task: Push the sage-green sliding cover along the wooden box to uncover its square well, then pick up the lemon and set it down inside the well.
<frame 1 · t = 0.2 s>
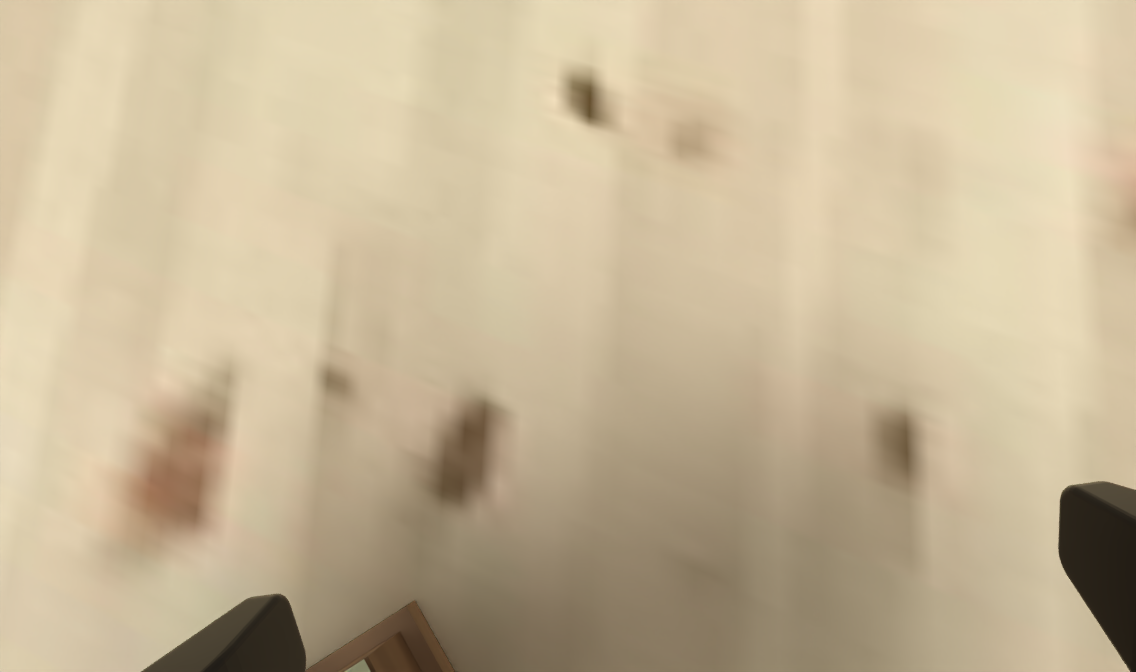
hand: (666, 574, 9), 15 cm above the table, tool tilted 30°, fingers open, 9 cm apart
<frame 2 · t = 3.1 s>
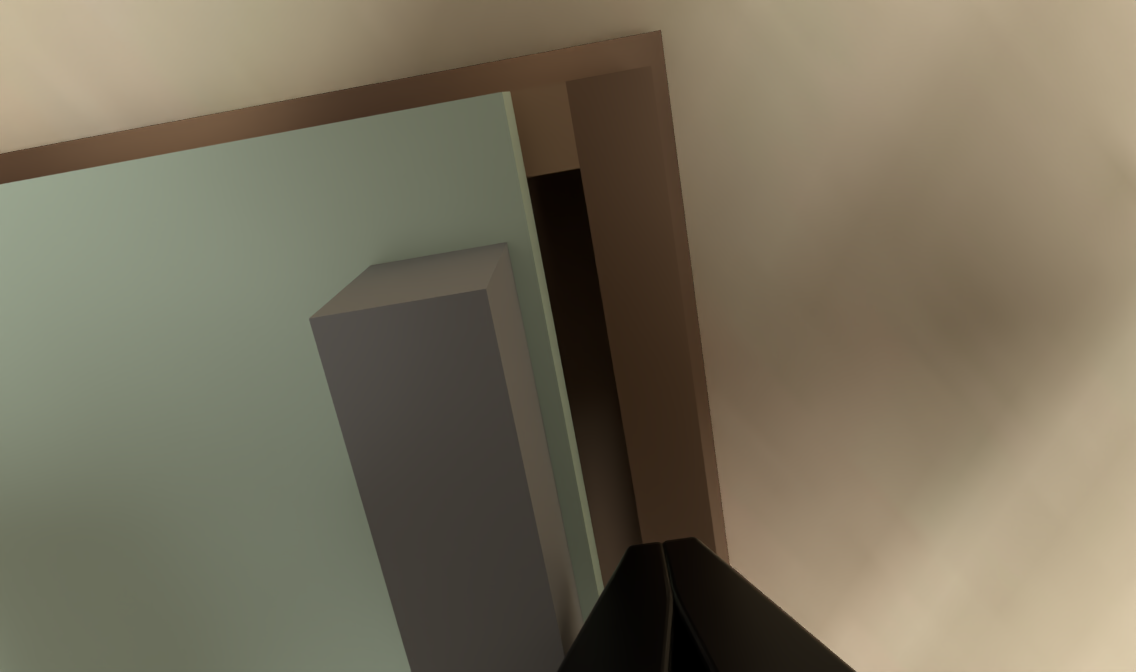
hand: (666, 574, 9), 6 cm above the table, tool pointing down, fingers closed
slide cover: (140, 648, 9), point 6 cm above the table, slide at 1.6 cm, touching gripper
wooden box: (111, 469, 15), on the table
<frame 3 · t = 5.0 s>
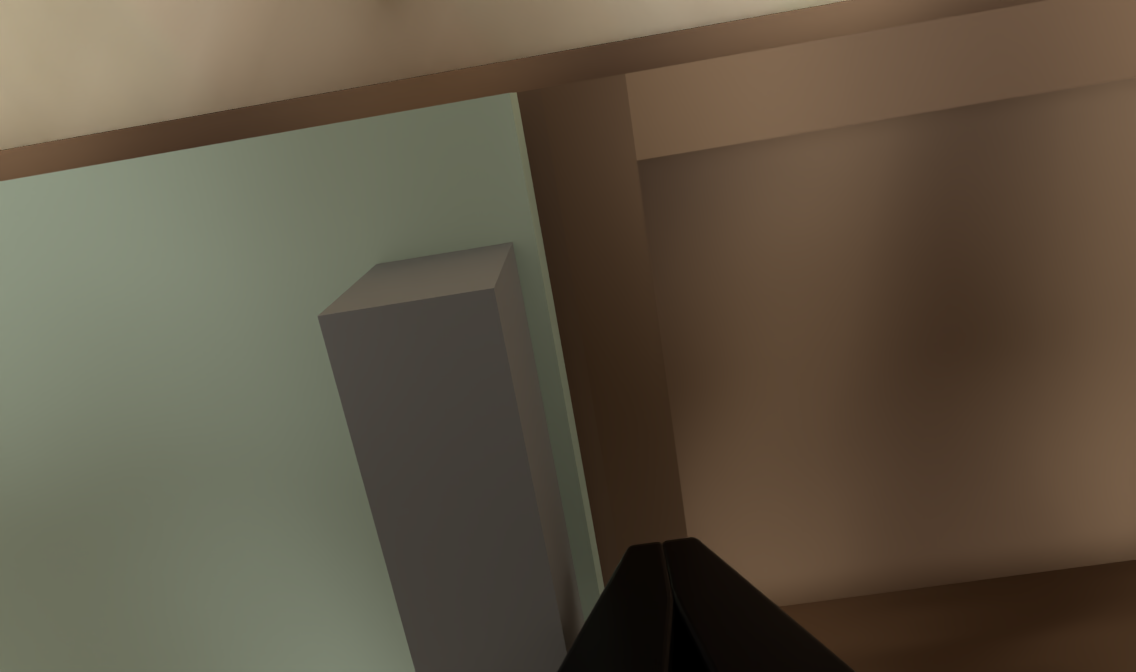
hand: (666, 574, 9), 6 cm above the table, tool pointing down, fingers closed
slide cover: (142, 643, 9), point 6 cm above the table, slide at 11.3 cm, touching gripper
wooden box: (600, 392, 14), on the table
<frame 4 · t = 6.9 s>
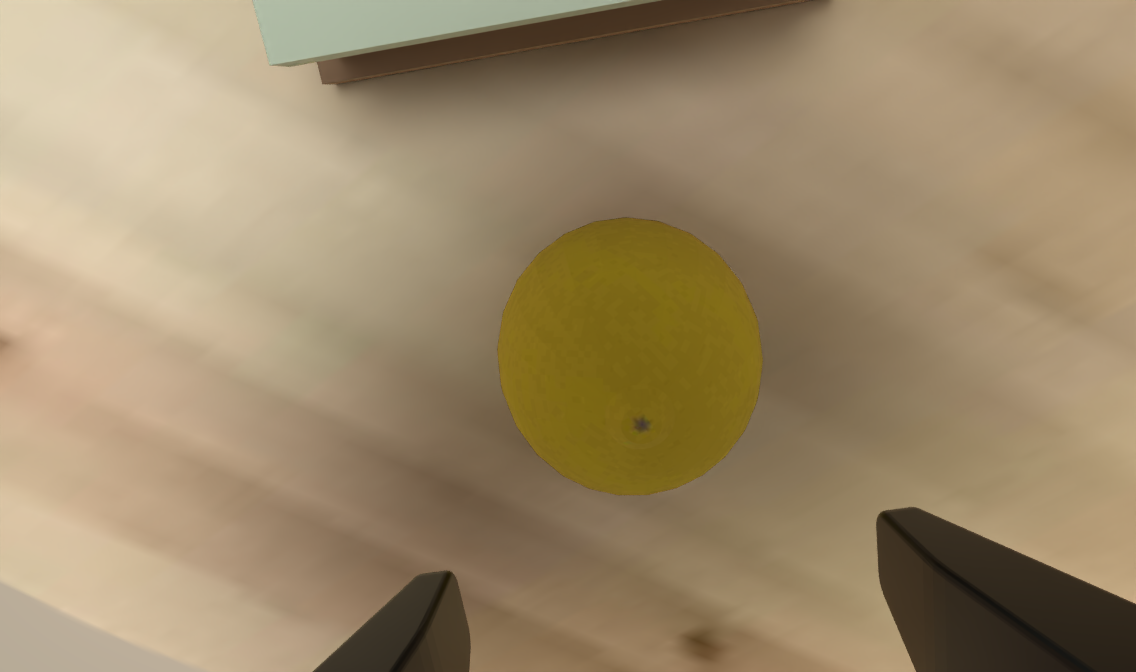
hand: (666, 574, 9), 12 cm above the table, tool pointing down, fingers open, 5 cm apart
lemon: (617, 298, 21), on the table
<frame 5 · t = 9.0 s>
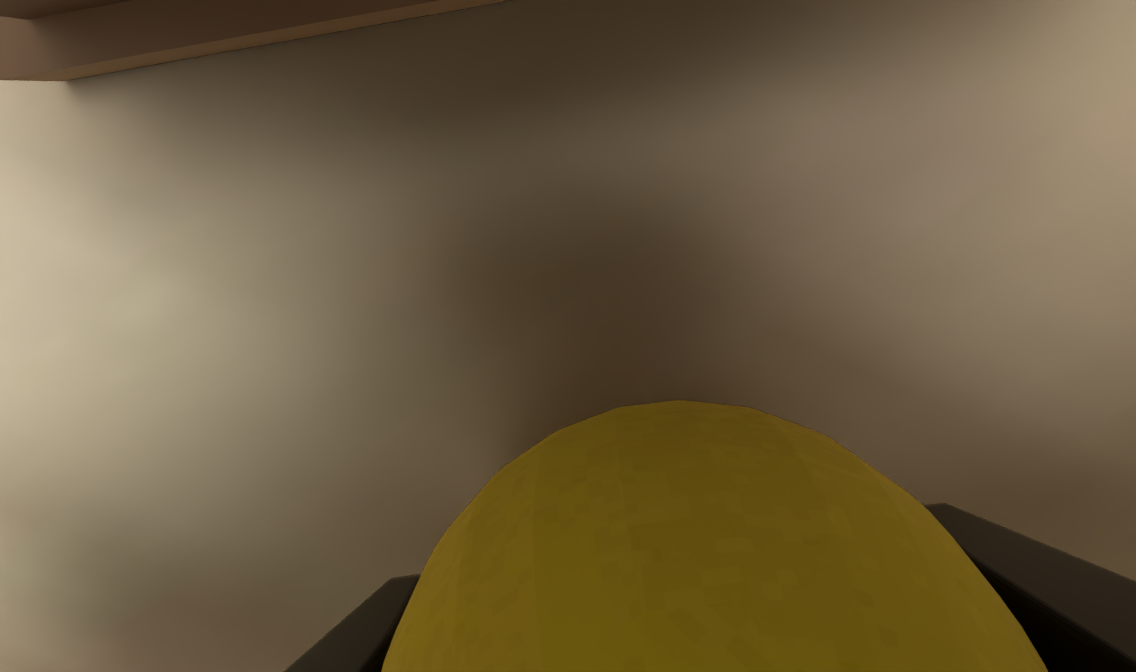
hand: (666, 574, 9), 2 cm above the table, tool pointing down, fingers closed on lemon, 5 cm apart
lemon: (651, 495, 11), on the table, touching gripper
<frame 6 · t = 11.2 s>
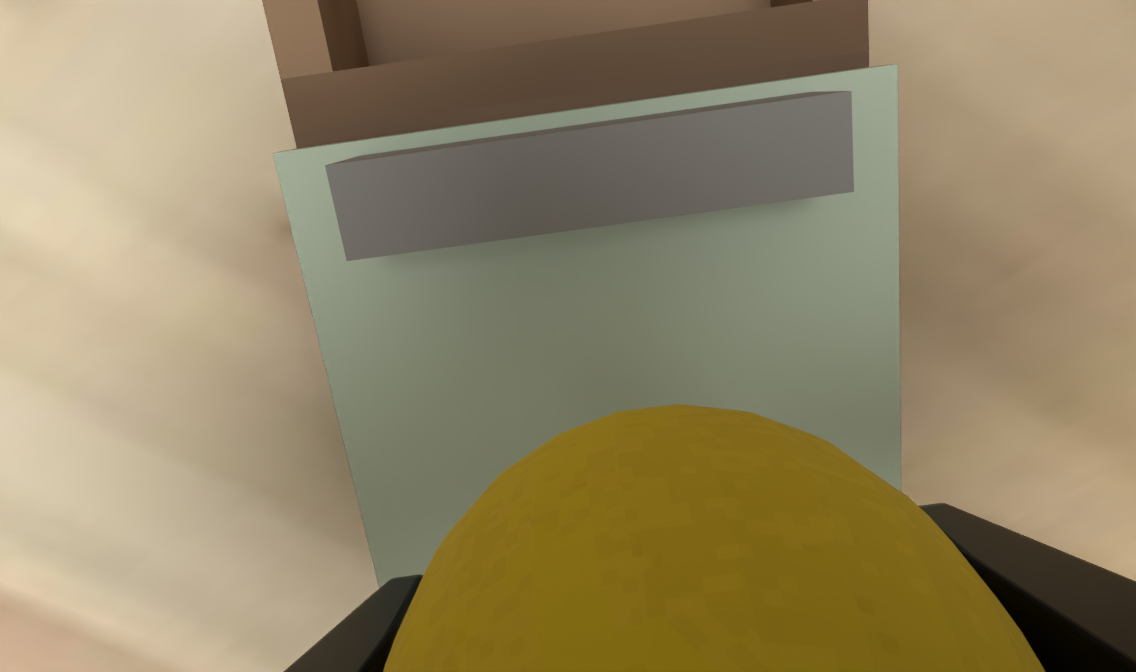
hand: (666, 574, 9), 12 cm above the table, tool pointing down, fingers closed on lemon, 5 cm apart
slide cover: (618, 409, 15), point 6 cm above the table, slide at 11.3 cm
lemon: (651, 498, 11), point 10 cm above the table, touching gripper
wooden box: (574, 93, 18), on the table
when the fingers open (5 cm above the table, at t = 13.6 s): lemon drops 2 cm, resting on wooden box.
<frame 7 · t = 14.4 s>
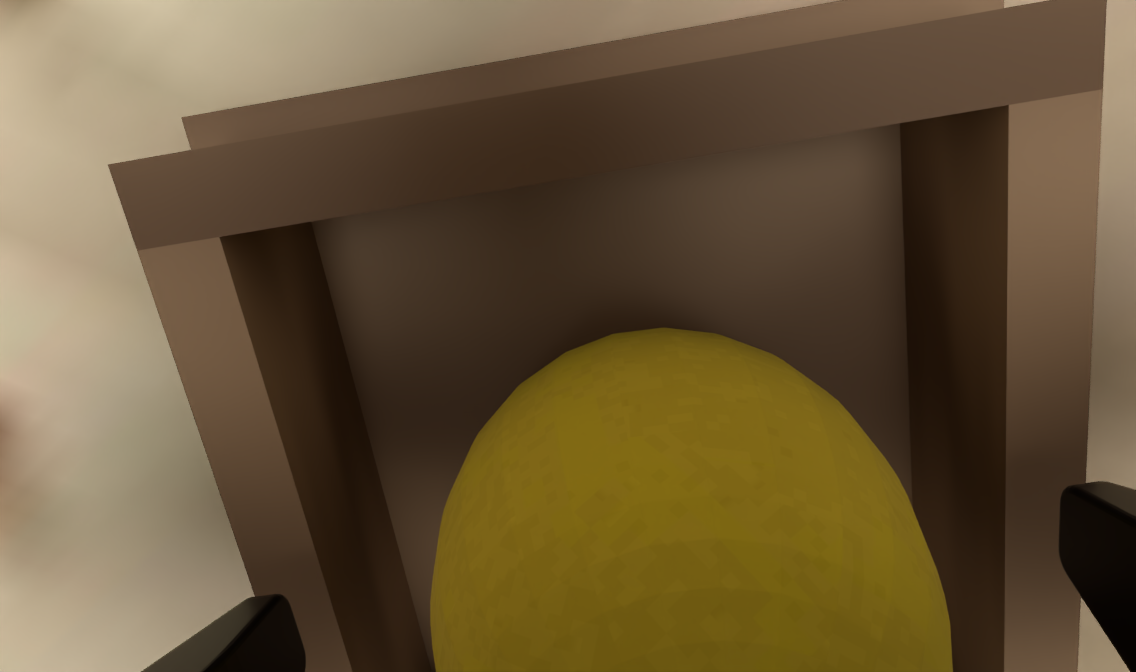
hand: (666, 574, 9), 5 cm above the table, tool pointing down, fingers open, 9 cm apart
lemon: (642, 421, 13), point 1 cm above the table, touching wooden box
wooden box: (670, 650, 15), on the table
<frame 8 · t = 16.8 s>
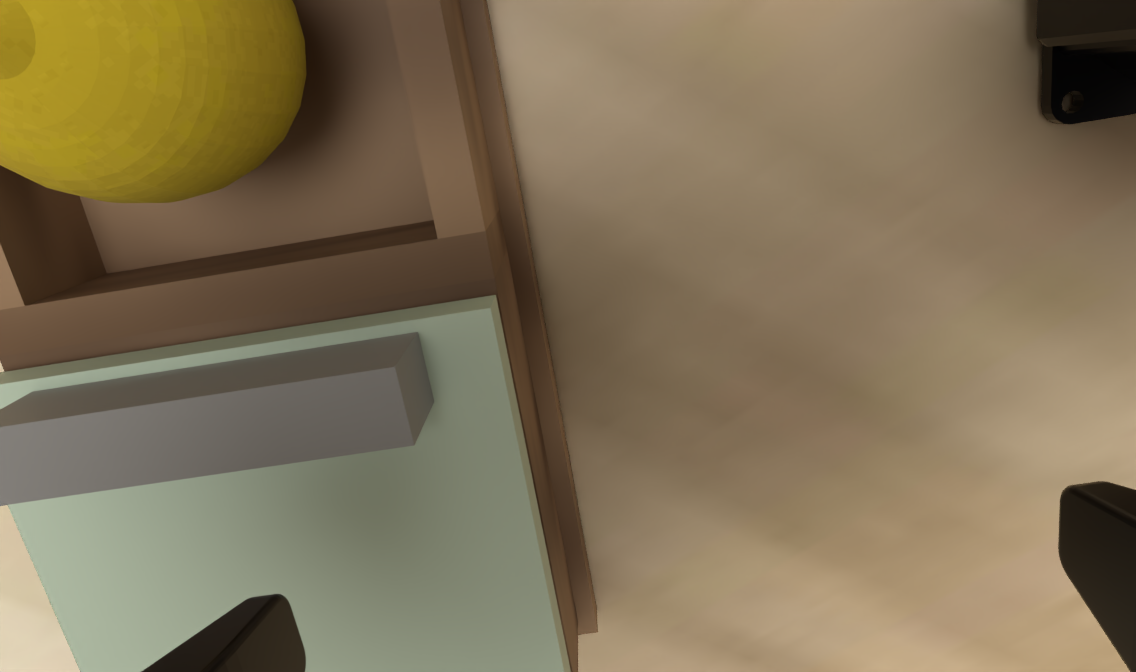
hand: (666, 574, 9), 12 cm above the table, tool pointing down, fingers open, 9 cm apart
slide cover: (284, 598, 16), point 6 cm above the table, slide at 11.3 cm
lemon: (235, 55, 18), point 1 cm above the table, touching wooden box
wooden box: (304, 274, 20), on the table
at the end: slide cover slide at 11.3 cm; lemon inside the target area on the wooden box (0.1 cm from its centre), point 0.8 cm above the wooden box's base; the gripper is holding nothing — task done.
